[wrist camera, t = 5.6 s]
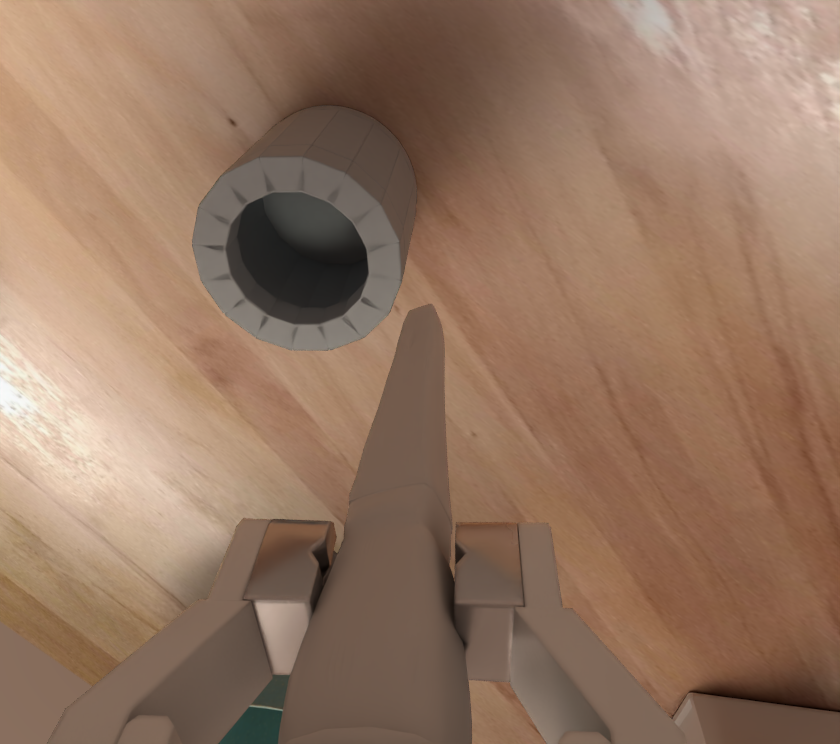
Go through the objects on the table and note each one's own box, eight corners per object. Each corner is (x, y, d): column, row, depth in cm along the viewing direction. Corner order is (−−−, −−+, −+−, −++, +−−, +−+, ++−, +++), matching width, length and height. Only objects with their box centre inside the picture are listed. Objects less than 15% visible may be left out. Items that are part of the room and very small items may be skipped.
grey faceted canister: (241, 107, 30) (169, 158, 23) (413, 102, 29) (394, 153, 22) (269, 266, 34) (217, 351, 27) (420, 265, 34) (406, 351, 27)
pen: (453, 260, 17) (418, 1002, 5) (487, 344, 18) (524, 1089, 6) (365, 290, 17) (147, 1010, 6) (404, 370, 19) (294, 1089, 7)
